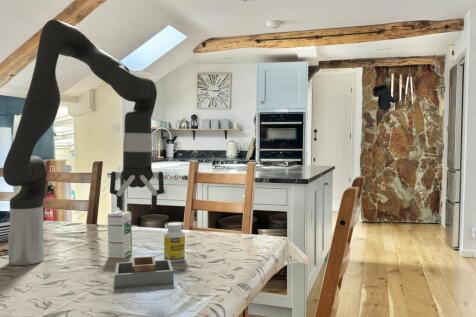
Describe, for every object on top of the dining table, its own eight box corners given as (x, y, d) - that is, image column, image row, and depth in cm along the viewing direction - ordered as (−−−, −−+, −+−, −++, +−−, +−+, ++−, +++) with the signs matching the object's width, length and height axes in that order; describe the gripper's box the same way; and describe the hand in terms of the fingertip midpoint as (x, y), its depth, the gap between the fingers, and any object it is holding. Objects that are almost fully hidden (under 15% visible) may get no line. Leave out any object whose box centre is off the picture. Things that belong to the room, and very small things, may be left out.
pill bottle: (165, 263, 129) (165, 226, 128) (163, 257, 135) (163, 222, 134) (186, 262, 130) (186, 225, 130) (183, 256, 137) (183, 221, 136)
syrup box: (124, 258, 134) (124, 214, 133) (107, 257, 135) (107, 213, 134) (132, 254, 139) (132, 211, 139) (116, 253, 141) (115, 210, 140)
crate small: (132, 283, 109) (132, 266, 109) (132, 273, 117) (132, 257, 117) (155, 281, 110) (155, 264, 110) (154, 271, 119) (153, 256, 118)
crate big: (114, 288, 107) (114, 275, 106) (116, 275, 117) (116, 262, 117) (173, 283, 110) (173, 270, 110) (169, 271, 121) (169, 259, 121)
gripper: (109, 150, 107) (109, 212, 108) (165, 150, 111) (164, 211, 112) (110, 149, 115) (110, 207, 115) (163, 150, 118) (162, 206, 119)
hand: (137, 209), depth 114 cm, fingers open, 8 cm apart
